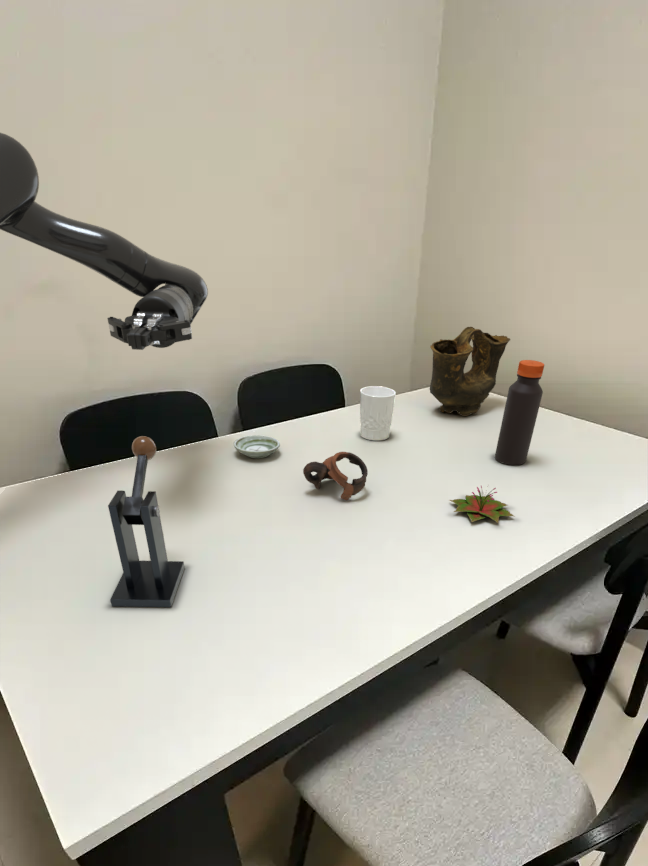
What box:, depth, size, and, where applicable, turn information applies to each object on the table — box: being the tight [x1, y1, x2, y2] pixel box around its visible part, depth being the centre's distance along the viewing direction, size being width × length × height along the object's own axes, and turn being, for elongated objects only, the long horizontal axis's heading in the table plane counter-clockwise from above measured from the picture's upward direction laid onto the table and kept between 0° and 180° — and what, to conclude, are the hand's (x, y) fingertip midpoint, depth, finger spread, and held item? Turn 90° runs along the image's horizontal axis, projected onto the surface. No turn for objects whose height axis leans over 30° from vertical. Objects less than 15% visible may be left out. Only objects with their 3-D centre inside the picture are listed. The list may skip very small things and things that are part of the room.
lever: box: [122, 435, 157, 526], centre depth 78 cm, size 13×3×3 cm
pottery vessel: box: [429, 326, 511, 417], centre depth 147 cm, size 25×11×20 cm, turn 132°
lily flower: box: [449, 484, 516, 524], centre depth 106 cm, size 12×12×5 cm
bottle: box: [494, 359, 545, 466], centre depth 121 cm, size 7×7×20 cm
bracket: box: [107, 490, 186, 608], centre depth 79 cm, size 10×8×14 cm
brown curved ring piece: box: [302, 451, 369, 501], centre depth 109 cm, size 12×10×8 cm
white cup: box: [359, 385, 397, 441], centre depth 132 cm, size 8×8×10 cm
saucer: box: [233, 434, 281, 459], centre depth 123 cm, size 10×10×2 cm
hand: (135, 341), depth 82 cm, fingers closed
